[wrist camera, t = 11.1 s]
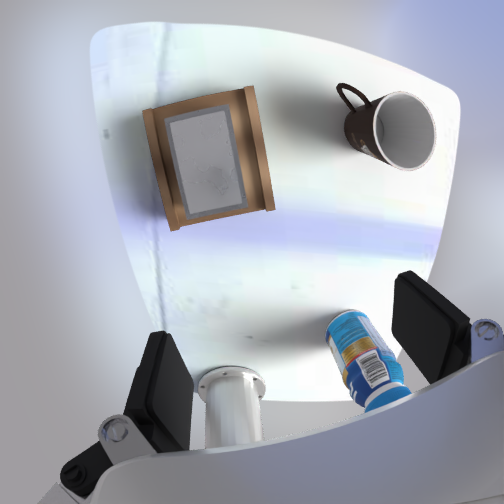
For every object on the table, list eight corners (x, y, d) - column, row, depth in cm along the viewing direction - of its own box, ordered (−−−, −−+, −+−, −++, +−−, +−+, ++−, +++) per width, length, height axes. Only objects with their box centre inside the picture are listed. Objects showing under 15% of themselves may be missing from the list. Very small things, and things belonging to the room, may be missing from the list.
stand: (269, 200, 36) (275, 209, 31) (177, 219, 36) (170, 231, 31) (249, 92, 30) (253, 85, 26) (153, 114, 30) (142, 110, 26)
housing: (228, 109, 27) (228, 103, 22) (244, 196, 31) (248, 208, 26) (173, 121, 27) (163, 118, 22) (192, 207, 31) (186, 221, 26)
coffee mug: (400, 144, 34) (445, 151, 25) (354, 171, 35) (393, 185, 26) (363, 71, 30) (403, 56, 20) (312, 95, 31) (343, 82, 22)
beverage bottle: (375, 310, 45) (435, 393, 26) (355, 347, 48) (400, 432, 29) (334, 305, 43) (389, 400, 25) (316, 344, 46) (353, 440, 28)
